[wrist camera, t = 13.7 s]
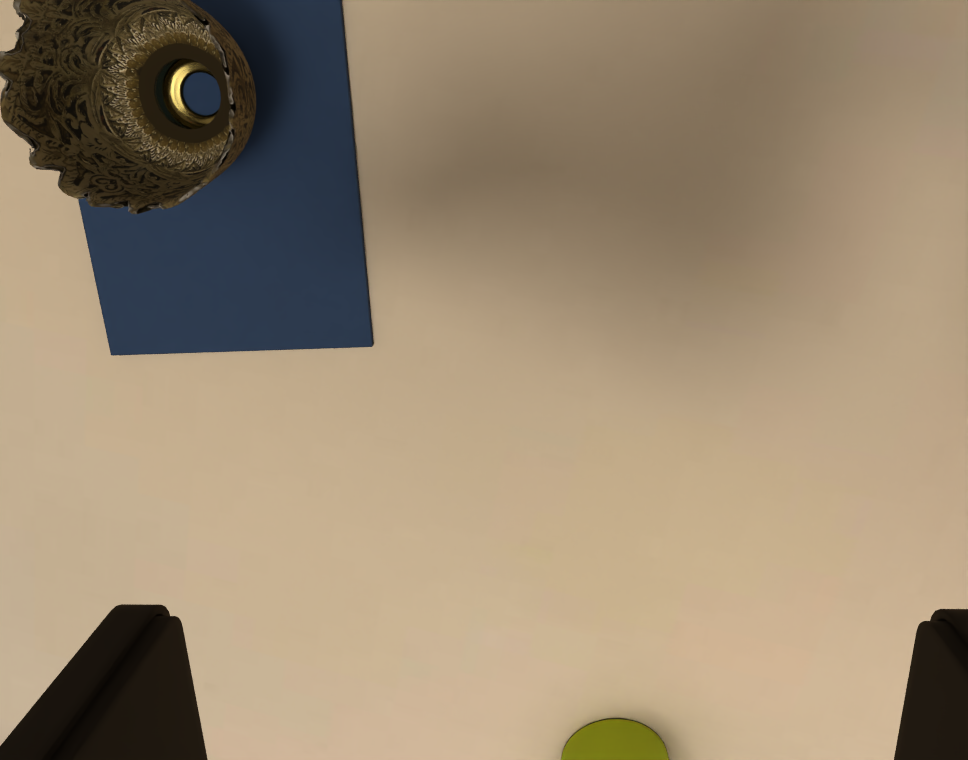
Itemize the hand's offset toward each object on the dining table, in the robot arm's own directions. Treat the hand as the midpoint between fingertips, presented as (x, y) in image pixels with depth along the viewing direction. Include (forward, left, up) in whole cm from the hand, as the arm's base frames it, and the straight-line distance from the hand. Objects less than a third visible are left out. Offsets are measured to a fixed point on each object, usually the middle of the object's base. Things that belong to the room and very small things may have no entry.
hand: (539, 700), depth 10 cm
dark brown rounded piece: (+12, -8, -26) cm, 30 cm away
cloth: (+12, -8, -26) cm, 30 cm away
